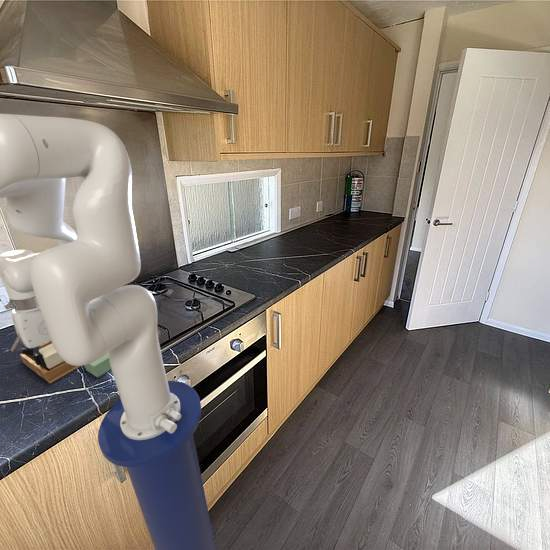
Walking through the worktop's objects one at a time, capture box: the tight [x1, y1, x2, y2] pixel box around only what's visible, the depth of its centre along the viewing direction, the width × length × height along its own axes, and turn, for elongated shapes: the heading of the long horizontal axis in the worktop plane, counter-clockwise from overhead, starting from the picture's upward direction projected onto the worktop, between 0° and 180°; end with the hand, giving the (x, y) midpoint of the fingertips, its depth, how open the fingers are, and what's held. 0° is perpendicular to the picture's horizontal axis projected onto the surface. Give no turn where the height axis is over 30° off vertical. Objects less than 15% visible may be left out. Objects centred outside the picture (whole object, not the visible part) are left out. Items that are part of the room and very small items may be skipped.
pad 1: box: [39, 344, 64, 369], centre depth 79 cm, size 6×6×4 cm
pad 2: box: [84, 353, 111, 378], centre depth 80 cm, size 6×6×4 cm
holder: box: [19, 341, 81, 384], centre depth 82 cm, size 16×8×3 cm, turn 59°
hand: (55, 358), depth 79 cm, fingers closed on pad 1, 5 cm apart
